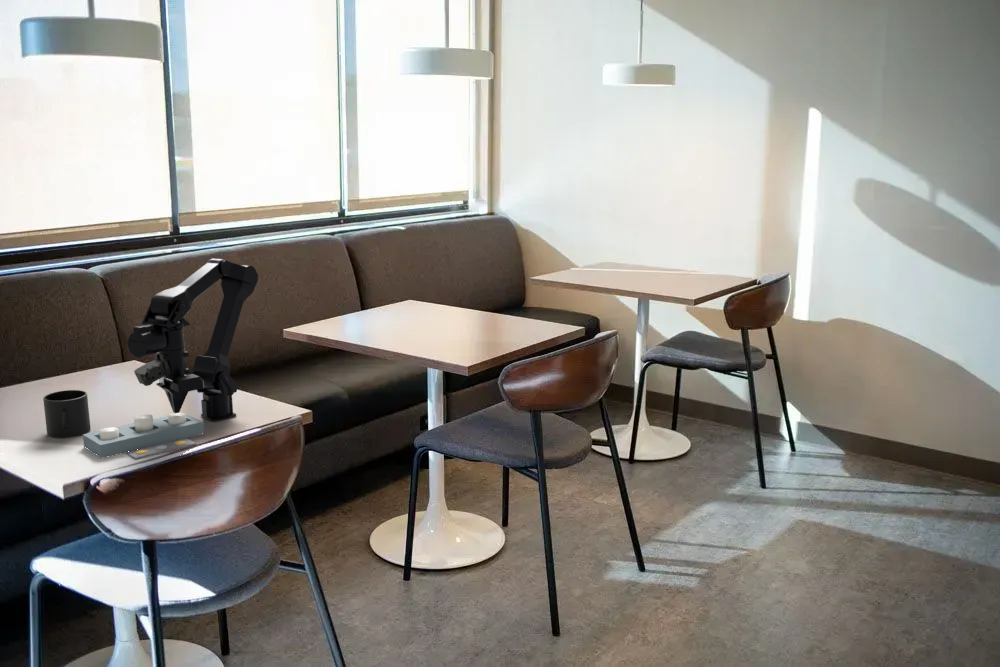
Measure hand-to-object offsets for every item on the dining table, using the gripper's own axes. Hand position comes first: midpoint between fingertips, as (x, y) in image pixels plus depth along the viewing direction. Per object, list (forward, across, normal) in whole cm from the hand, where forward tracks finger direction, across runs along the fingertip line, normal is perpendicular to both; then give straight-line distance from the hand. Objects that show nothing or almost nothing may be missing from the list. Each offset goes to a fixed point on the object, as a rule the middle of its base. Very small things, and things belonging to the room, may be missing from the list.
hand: (176, 412), depth 228 cm
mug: (+5, -17, -19) cm, 26 cm away
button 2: (+4, 0, 0) cm, 4 cm away
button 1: (+4, 0, -16) cm, 16 cm away
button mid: (+3, 0, -8) cm, 8 cm away
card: (+5, +8, -8) cm, 13 cm away
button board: (+5, 0, -8) cm, 9 cm away
